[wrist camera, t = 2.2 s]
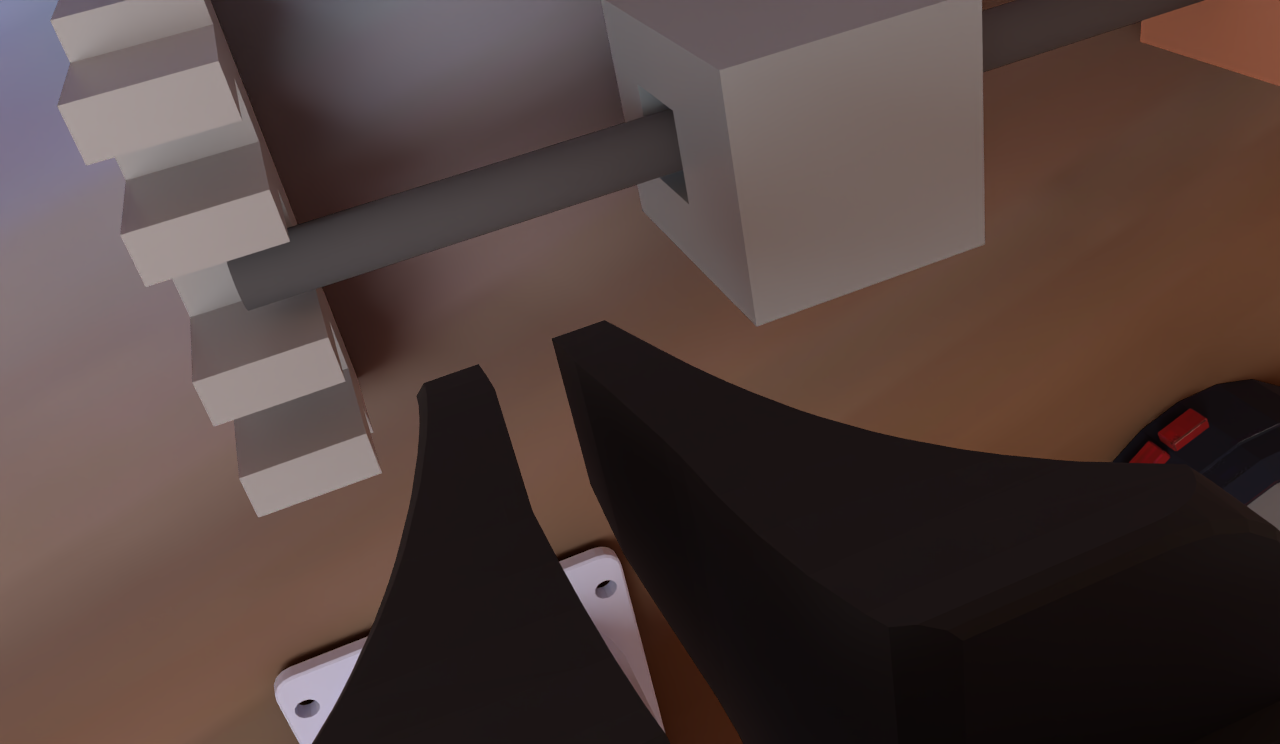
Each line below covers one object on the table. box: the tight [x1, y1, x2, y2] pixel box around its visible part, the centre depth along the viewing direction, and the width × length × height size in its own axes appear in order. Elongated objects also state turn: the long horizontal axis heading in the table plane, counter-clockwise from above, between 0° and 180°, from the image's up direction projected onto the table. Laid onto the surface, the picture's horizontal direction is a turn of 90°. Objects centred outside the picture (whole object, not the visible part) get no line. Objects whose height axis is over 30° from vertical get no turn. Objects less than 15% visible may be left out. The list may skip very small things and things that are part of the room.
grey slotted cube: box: [601, 0, 985, 326], centre depth 18 cm, size 4×4×5 cm
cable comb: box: [50, 0, 382, 518], centre depth 18 cm, size 2×8×4 cm, turn 10°
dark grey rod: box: [227, 0, 1280, 311], centre depth 19 cm, size 21×4×4 cm, turn 100°
